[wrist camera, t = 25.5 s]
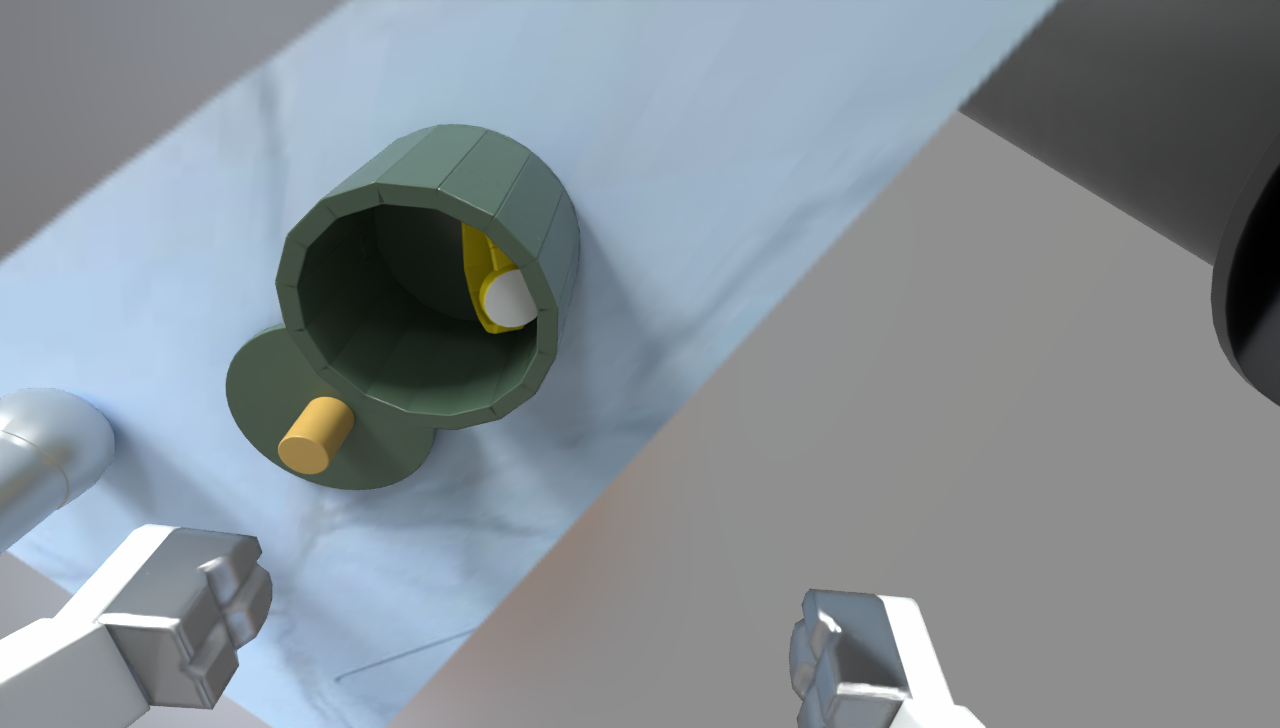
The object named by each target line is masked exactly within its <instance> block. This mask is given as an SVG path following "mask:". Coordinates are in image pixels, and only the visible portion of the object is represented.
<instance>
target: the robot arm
mask: <svg viewBox="0 0 1280 728" xmlns="http://www.w3.org/2000/svg"><path fill="white" fill-rule="evenodd" d="M261 554H262V550H261V547H260V545H259V542H258V539H257V537H254V536H248V535H240V534H232V533H224V532H216V531H207V530H199V529H191V528H183V527H173V526H164V525H155V524H146V525H144V526H142V527H140V528H138V529H136V530H134V531H133V532H132V533H131V534H130V535H129V536H128V537H127V538H126V540H125V541H124V542H123V543H122V544H121V545H120V546H119V547H118V548H117V549H116V551H115V552H114V553H113V554H112V555H111V556H110V557H109V558H108V559H107V560H106V561H105V563H104V564H103V565H102V566H101V567H100V568H99V569H98V570H97V571H96V572H95V573H94V575H93V576H92V577H91V578H90V579H89V580H88V581H87V582H86V583H85V584H84V585H83V587H82V588H81V589H80V590H79V591H78V592H77V593H76V594H75V595H74V596H73V598H72V599H71V600H70V601H69V602H68V603H67V604H66V605H65V606H64V607H63V608H62V610H61V611H60V612H59V613H58V614H57V615H56V616H55V617H54V618H53V619H49V618H41V619H39V620H37V621H35V622H33V623H32V624H30V625H28V626H26V627H24V628H22V629H20V630H18V631H16V632H15V633H13V634H11V635H9V636H7V637H5V638H3V639H2V640H0V728H127V727H129V725H131V724H132V723H134V722H135V721H136V720H137V719H139V718H140V717H141V716H142V715H144V714H145V713H146V712H147V711H149V710H150V706H149V705H152V706H167V707H182V708H198V709H213V708H214V706H215V704H216V703H217V701H218V700H219V698H220V696H221V695H222V693H223V691H224V690H225V688H226V686H227V685H228V683H229V681H230V680H231V678H232V676H233V675H234V673H235V671H236V670H237V668H238V666H239V662H238V655H237V650H238V649H239V648H241V647H242V646H244V645H245V644H247V643H248V642H250V641H251V640H252V639H254V638H255V637H256V636H257V634H258V633H259V631H260V629H261V627H262V626H263V624H264V622H265V620H266V618H267V615H268V611H269V608H270V605H271V601H272V581H271V578H270V575H269V572H267V571H266V570H265V569H264V568H263V567H261V566H260V565H259V564H258V563H257V562H256V561H257V560H258V558H259V557H260V555H261ZM802 609H803V615H804V618H803V619H802V620H800V621H798V622H797V623H795V626H794V629H793V632H792V636H791V642H790V652H789V662H790V663H789V664H790V676H791V683H792V689H793V690H794V691H795V692H796V694H797V695H798V696H799V697H800V698H801V700H802V701H803V703H802V706H801V709H800V711H799V714H798V717H797V723H798V728H986V727H985V726H984V725H983V724H982V723H981V722H980V721H979V720H978V719H977V718H976V717H975V716H974V715H973V714H972V713H971V712H970V711H969V710H968V709H967V708H966V707H965V706H958V705H954V702H953V699H952V697H951V694H950V691H949V688H948V686H947V683H946V680H945V678H944V675H943V672H942V669H941V666H940V664H939V661H938V658H937V656H936V653H935V650H934V648H933V645H932V642H931V639H930V637H929V634H928V631H927V628H926V626H925V623H924V620H923V618H922V615H921V612H920V609H919V607H918V605H917V603H916V602H915V601H914V600H913V599H912V598H903V597H892V596H882V595H875V594H868V593H856V592H844V591H832V590H818V589H809V591H807V593H806V594H805V596H804V599H803V602H802Z"/></svg>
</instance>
